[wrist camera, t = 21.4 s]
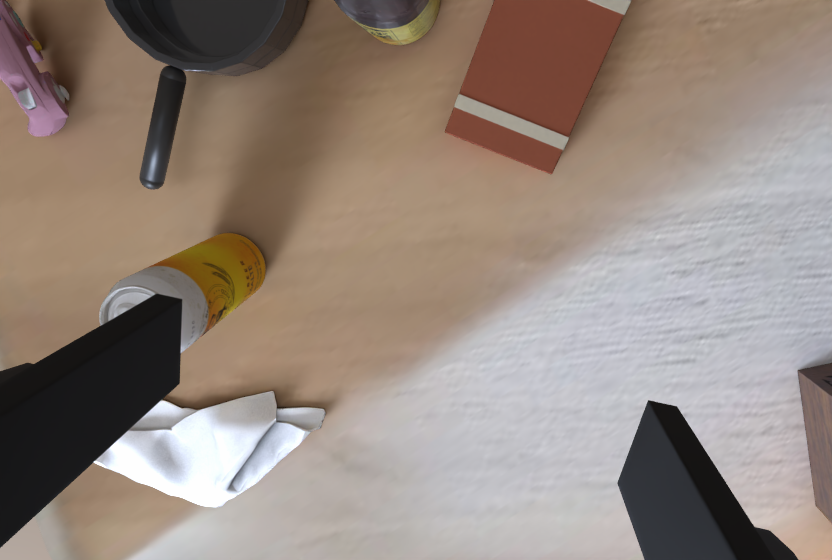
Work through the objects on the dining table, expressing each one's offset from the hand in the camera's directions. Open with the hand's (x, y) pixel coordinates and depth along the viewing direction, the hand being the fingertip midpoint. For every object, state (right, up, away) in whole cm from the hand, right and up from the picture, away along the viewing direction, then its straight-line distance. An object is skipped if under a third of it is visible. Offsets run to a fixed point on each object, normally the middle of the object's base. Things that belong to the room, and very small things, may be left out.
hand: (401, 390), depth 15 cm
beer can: (-16, +5, +34) cm, 38 cm away
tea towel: (+10, +20, +26) cm, 34 cm away
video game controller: (-31, +21, +30) cm, 48 cm away
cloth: (-21, -14, +40) cm, 47 cm away
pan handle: (-19, +15, +27) cm, 37 cm away
